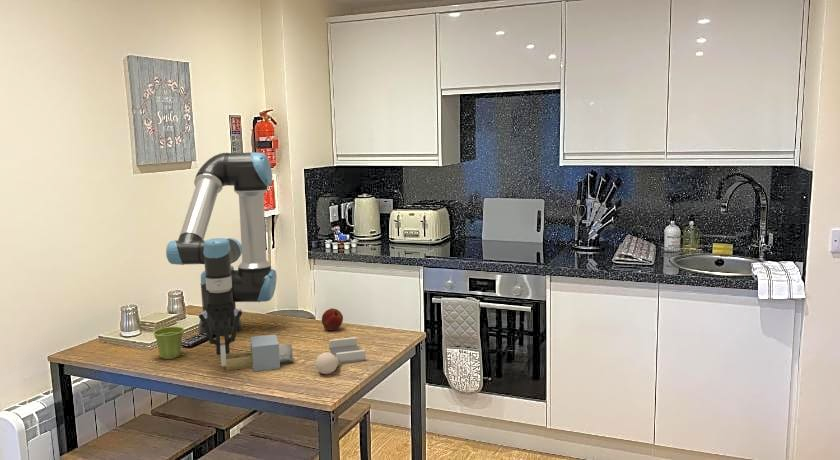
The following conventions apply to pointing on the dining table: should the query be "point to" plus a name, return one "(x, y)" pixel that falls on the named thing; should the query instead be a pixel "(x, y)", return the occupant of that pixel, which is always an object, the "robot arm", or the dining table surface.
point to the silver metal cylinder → (285, 353)
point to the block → (265, 352)
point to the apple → (332, 319)
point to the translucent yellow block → (239, 361)
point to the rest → (346, 350)
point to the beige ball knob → (327, 363)
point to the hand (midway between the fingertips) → (223, 364)
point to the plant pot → (169, 341)
